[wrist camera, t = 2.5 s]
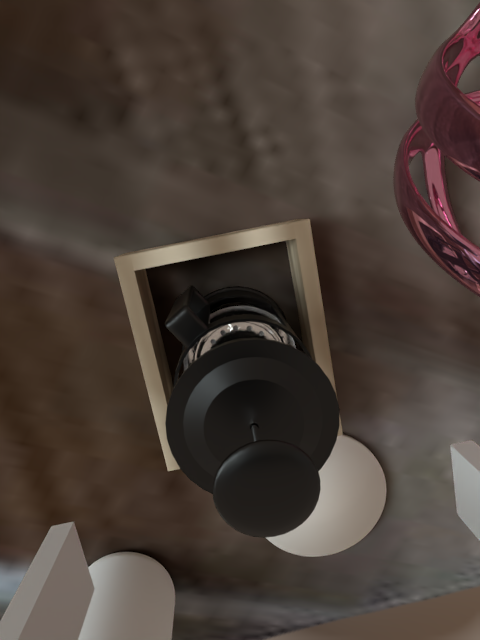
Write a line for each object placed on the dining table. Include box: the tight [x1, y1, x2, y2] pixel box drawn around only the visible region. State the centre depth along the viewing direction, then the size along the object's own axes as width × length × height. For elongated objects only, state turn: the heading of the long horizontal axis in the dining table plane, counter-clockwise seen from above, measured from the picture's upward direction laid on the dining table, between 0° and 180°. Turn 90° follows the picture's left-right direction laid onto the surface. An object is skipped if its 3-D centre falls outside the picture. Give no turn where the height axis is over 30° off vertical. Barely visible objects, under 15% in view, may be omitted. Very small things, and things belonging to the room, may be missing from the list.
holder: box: [114, 219, 343, 471], centre depth 37 cm, size 14×17×5 cm
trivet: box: [266, 434, 387, 557], centre depth 43 cm, size 13×13×1 cm
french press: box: [165, 286, 340, 538], centre depth 28 cm, size 12×9×23 cm
